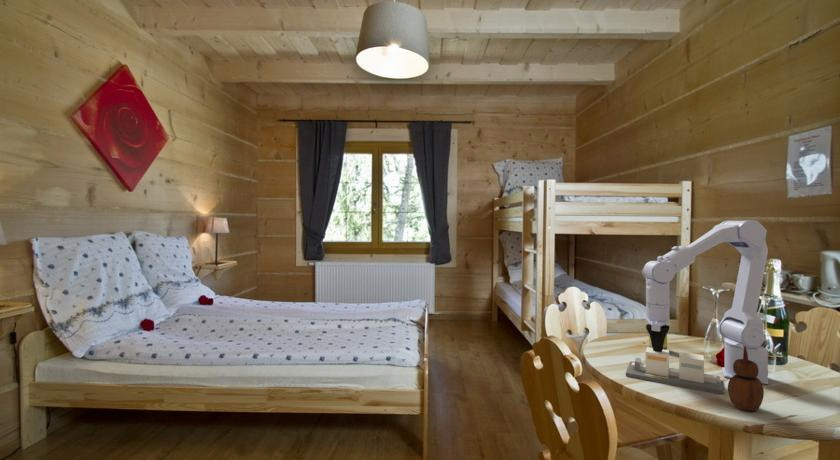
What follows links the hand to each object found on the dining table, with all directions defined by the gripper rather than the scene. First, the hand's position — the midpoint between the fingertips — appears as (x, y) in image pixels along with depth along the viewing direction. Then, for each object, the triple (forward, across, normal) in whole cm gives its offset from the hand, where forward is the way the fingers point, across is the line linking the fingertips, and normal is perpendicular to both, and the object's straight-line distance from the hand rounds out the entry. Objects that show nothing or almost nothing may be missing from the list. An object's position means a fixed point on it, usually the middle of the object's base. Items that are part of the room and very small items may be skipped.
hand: (657, 350), depth 114 cm
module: (+6, 0, 0) cm, 6 cm away
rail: (+7, 0, +4) cm, 8 cm away
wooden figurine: (+7, +12, +18) cm, 23 cm away
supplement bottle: (+7, -27, -2) cm, 28 cm away
